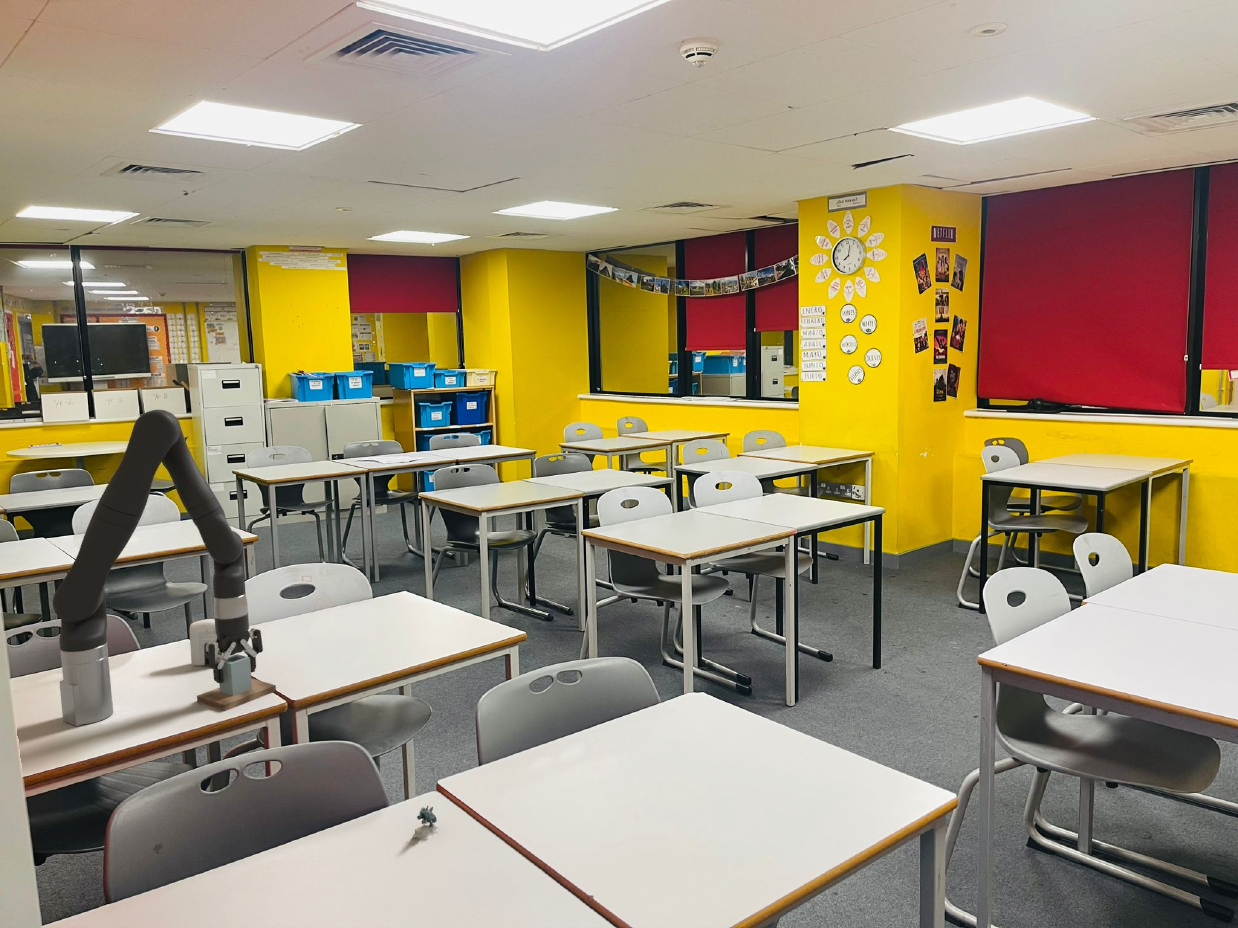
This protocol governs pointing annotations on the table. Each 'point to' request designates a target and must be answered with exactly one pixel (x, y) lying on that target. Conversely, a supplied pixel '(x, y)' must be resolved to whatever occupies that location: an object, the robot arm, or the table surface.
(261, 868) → the table surface
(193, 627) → the white rounded block
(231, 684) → the jaw block
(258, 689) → the walnut pin plate
